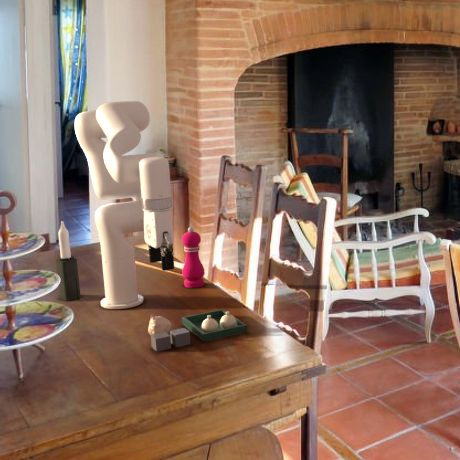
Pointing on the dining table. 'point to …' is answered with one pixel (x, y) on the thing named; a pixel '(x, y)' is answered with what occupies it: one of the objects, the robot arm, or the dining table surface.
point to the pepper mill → (192, 260)
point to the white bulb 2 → (227, 321)
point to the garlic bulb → (159, 325)
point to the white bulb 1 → (209, 325)
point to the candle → (67, 268)
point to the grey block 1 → (161, 341)
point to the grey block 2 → (180, 337)
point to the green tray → (196, 327)
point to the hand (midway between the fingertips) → (161, 265)
